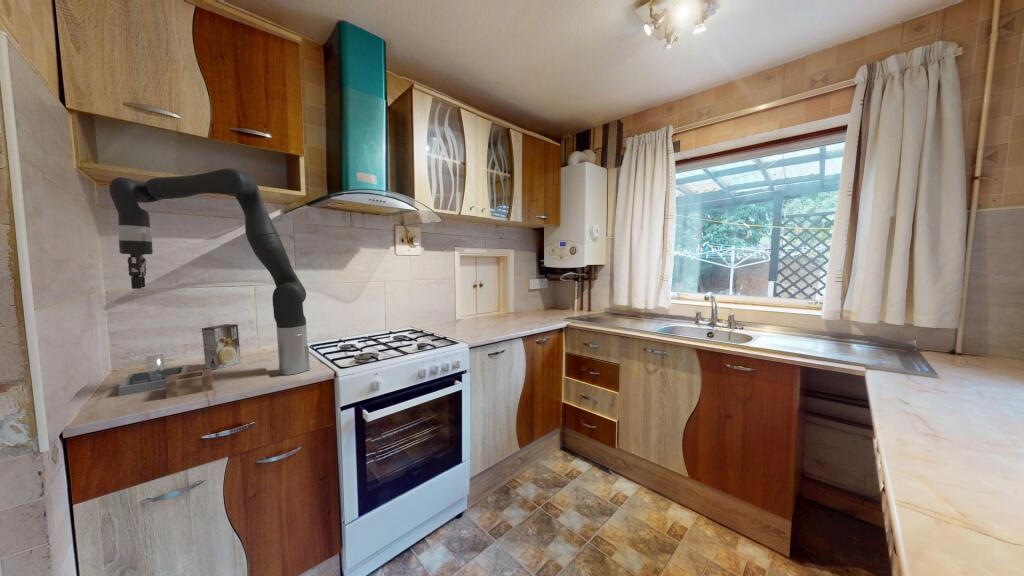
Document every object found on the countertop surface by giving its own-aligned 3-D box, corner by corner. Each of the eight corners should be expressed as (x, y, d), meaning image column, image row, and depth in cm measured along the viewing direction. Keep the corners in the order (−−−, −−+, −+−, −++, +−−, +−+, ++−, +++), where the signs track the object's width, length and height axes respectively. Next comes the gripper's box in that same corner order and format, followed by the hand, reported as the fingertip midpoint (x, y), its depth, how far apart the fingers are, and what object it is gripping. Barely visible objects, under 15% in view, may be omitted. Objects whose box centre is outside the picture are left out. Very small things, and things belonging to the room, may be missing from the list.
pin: (165, 379, 115) (163, 353, 115) (165, 382, 112) (162, 355, 112) (148, 382, 113) (146, 356, 112) (147, 385, 110) (144, 358, 109)
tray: (187, 374, 123) (187, 365, 123) (184, 387, 111) (183, 377, 110) (130, 384, 114) (129, 374, 114) (119, 399, 101) (118, 387, 101)
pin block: (212, 384, 113) (211, 368, 113) (212, 393, 106) (211, 375, 105) (170, 392, 107) (169, 375, 106) (167, 401, 99) (165, 383, 99)
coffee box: (228, 362, 139) (226, 323, 138) (241, 362, 138) (238, 324, 137) (204, 369, 130) (201, 327, 129) (217, 369, 129) (214, 328, 128)
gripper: (149, 239, 111) (152, 288, 112) (154, 241, 121) (156, 286, 123) (114, 238, 106) (118, 289, 107) (122, 240, 116) (125, 287, 118)
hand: (138, 287), depth 115 cm, fingers open, 8 cm apart
